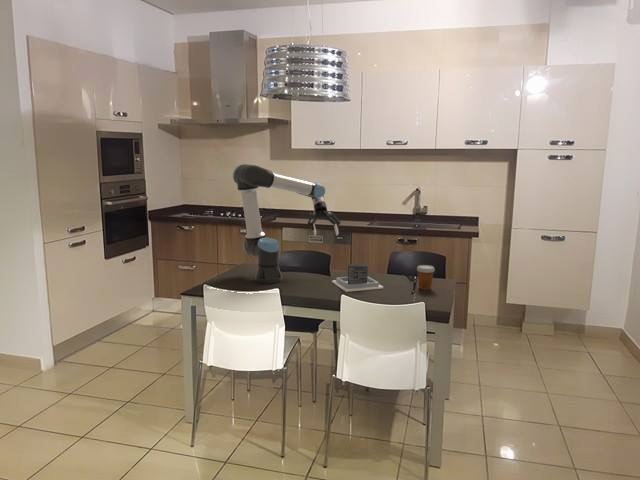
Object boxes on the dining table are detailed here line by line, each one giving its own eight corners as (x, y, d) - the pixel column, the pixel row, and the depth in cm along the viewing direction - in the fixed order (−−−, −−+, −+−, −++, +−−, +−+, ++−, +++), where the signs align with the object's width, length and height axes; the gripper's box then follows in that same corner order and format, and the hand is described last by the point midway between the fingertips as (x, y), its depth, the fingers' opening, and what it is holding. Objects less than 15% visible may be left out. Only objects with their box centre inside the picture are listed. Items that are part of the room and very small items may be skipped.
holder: (345, 291, 268) (345, 286, 267) (331, 282, 286) (332, 277, 285) (383, 288, 275) (383, 283, 274) (367, 279, 293) (367, 274, 293)
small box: (366, 282, 283) (367, 264, 281) (367, 285, 277) (368, 266, 275) (347, 281, 283) (348, 263, 281) (348, 285, 277) (348, 266, 275)
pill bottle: (423, 291, 271) (424, 269, 268) (412, 287, 279) (413, 265, 277) (437, 289, 275) (438, 267, 273) (425, 285, 283) (427, 264, 281)
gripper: (337, 209, 315) (344, 237, 304) (298, 209, 307) (304, 238, 296) (340, 201, 309) (348, 230, 298) (301, 201, 301) (307, 230, 290)
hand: (326, 234), depth 297 cm, fingers open, 13 cm apart
